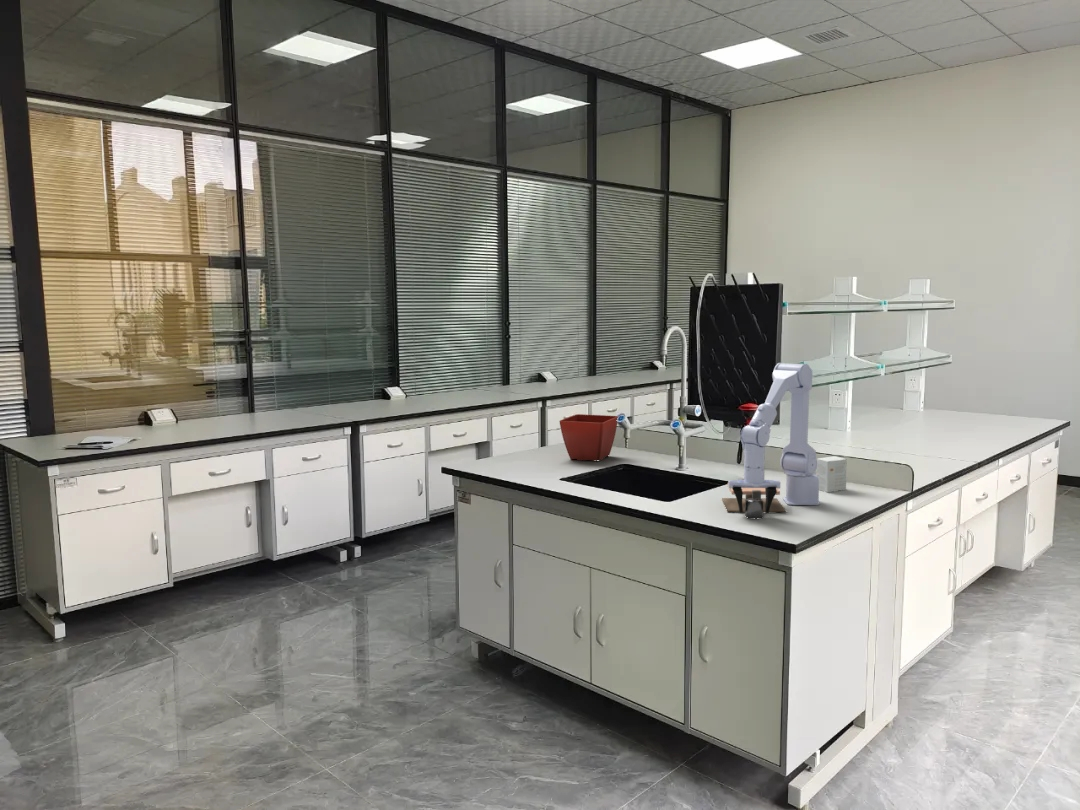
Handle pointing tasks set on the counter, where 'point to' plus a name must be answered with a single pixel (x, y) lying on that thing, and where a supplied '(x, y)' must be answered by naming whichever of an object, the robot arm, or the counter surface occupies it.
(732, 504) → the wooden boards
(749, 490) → the tipping door
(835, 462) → the small box
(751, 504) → the block
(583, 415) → the plant pot
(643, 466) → the counter surface
